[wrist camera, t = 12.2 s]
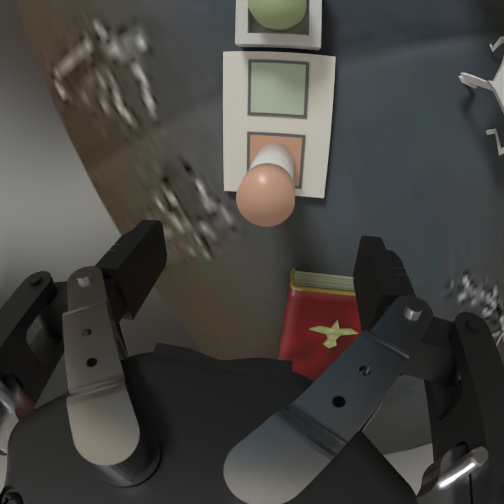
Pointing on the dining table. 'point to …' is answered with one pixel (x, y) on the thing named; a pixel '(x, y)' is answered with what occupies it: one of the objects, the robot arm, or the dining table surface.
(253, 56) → the colouring board
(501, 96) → the origami figure
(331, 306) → the hardcover book
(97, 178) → the dining table surface
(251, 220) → the marker
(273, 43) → the button housing
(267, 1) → the button
